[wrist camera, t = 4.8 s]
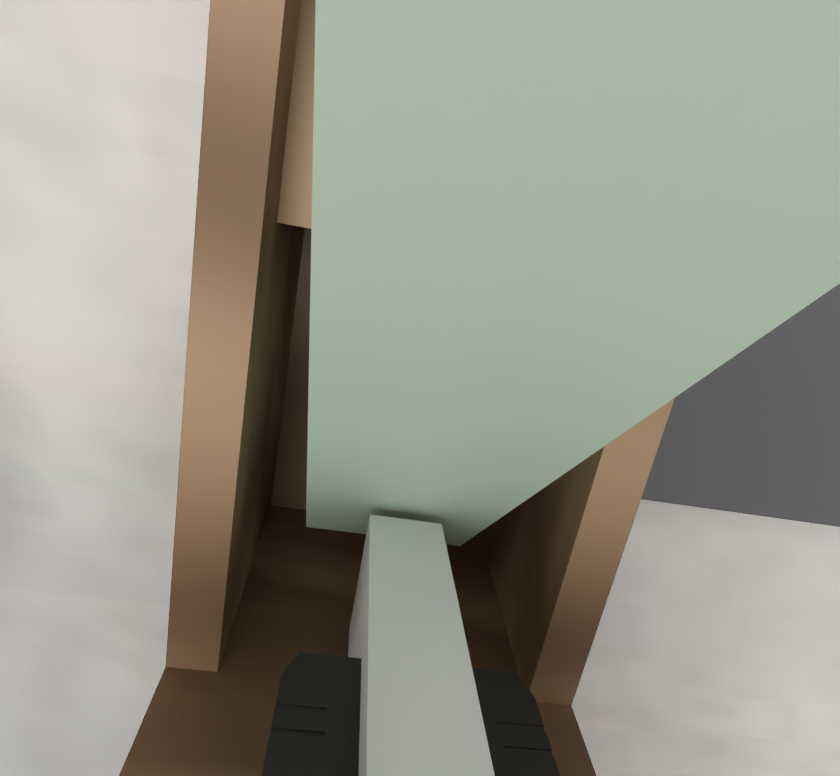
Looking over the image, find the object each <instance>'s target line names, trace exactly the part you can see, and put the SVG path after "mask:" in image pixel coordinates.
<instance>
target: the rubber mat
mask: <svg viewBox="0 0 840 776" xmlns="http://www.w3.org/2000/svg"><path fill="white" fill-rule="evenodd" d="M641 499H645V500H652V501H659V502H666V503H674V504H681V505H688V506H695V507H702V508H710V509H717V510H724V511H731V512H738V513H746V514H753V515H760V516H767V517H774V518H781V519H789V520H796V521H803V522H810V523H817V524H825V525H832V526H839V527H840V284H838V285H837V286H835V287H834V288H832V289H831V290H830V291H828V292H827V293H825V294H824V295H822V296H821V297H819V298H818V299H817V300H815V301H814V302H812V303H811V304H809V305H808V306H806V307H805V308H804V309H802V310H801V311H799V312H798V313H796V314H795V315H793V316H792V317H790V318H789V319H788V320H786V321H785V322H783V323H782V324H780V325H779V326H777V327H776V328H775V329H773V330H772V331H770V332H769V333H767V334H766V335H764V336H763V337H762V338H760V339H759V340H757V341H756V342H754V343H753V344H751V345H750V346H749V347H747V348H746V349H744V350H743V351H741V352H740V353H738V354H737V355H736V356H734V357H733V358H731V359H730V360H728V361H727V362H725V363H724V364H723V365H721V366H720V367H718V368H717V369H715V370H714V371H712V372H711V373H710V374H708V375H707V376H705V377H704V378H702V379H701V380H699V381H698V382H696V383H695V384H694V385H692V386H691V387H689V388H688V389H686V390H685V391H683V392H682V393H681V394H679V395H678V396H676V397H675V399H674V402H673V405H672V408H671V411H670V414H669V417H668V420H667V423H666V426H665V429H664V432H663V435H662V438H661V441H660V444H659V447H658V450H657V453H656V456H655V458H654V461H653V464H652V467H651V470H650V473H649V476H648V479H647V482H646V485H645V488H644V491H643V494H642V497H641Z"/></svg>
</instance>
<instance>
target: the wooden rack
mask: <svg viewBox="0 0 840 776" xmlns="http://www.w3.org/2000/svg"><path fill="white" fill-rule="evenodd" d="M315 9H316V0H210V14H209V29H208V44H207V59H206V74H205V89H204V103H203V118H202V133H201V148H200V163H199V178H198V193H197V208H196V223H195V238H194V253H193V268H192V282H191V297H190V312H189V327H188V342H187V357H186V372H185V387H184V402H183V417H182V432H181V447H180V461H179V476H178V491H177V506H176V521H175V536H174V551H173V566H172V581H171V596H170V611H169V626H168V640H167V655H166V668H165V670H164V672H163V675H162V677H161V679H160V682H159V684H158V686H157V689H156V691H155V693H154V696H153V698H152V700H151V703H150V705H149V707H148V710H147V712H146V714H145V717H144V719H143V721H142V724H141V726H140V728H139V731H138V733H137V735H136V738H135V740H134V742H133V745H132V747H131V749H130V752H129V754H128V756H127V759H126V761H125V763H124V766H123V768H122V770H121V773H120V775H119V776H262V772H263V766H264V761H265V756H266V751H267V746H268V741H269V736H270V731H271V726H272V720H273V715H274V710H275V705H276V700H277V695H278V690H279V685H280V679H281V674H282V673H283V672H284V671H285V669H286V668H287V667H288V666H289V664H290V663H291V662H292V661H293V659H294V658H295V657H296V656H297V654H298V653H299V652H305V653H314V654H324V655H333V656H343V657H348V647H349V630H350V622H351V616H352V611H353V605H354V600H355V594H356V589H357V583H358V577H359V572H360V566H361V561H362V555H363V550H364V544H365V539H366V534H359V533H351V532H343V531H336V530H328V529H320V528H312V527H306V494H307V440H308V386H309V332H310V279H311V225H312V171H313V117H314V63H315ZM674 399H675V398H673V399H672V400H670V401H669V402H668V403H666V404H665V405H663V406H662V407H660V408H659V409H657V410H656V411H655V412H653V413H652V414H650V415H649V416H647V417H646V418H644V419H643V420H642V421H640V422H639V423H637V424H636V425H634V426H633V427H631V428H630V429H629V430H627V431H626V432H624V433H623V434H621V435H620V436H618V437H617V438H616V439H614V440H613V441H611V442H610V443H608V444H607V445H605V446H604V447H602V448H601V449H600V450H598V451H597V452H595V453H594V454H592V455H591V456H589V457H588V458H587V459H585V460H584V461H582V462H581V463H579V464H578V465H576V466H575V467H574V468H572V469H571V470H569V471H568V472H566V473H565V474H563V475H562V476H561V477H559V478H558V479H556V480H555V481H553V482H552V483H550V484H549V485H548V486H546V487H545V488H543V489H542V490H540V491H539V492H537V493H536V494H535V495H533V496H532V497H530V498H529V499H527V500H526V501H524V502H523V503H522V504H520V505H519V506H517V507H516V508H514V509H513V510H511V511H510V512H508V513H507V514H506V515H504V516H503V517H501V518H500V519H498V520H497V521H495V522H494V523H493V524H491V525H490V526H488V527H487V528H485V529H484V530H482V531H481V532H480V533H478V534H477V535H475V536H474V537H472V538H471V539H469V540H468V541H467V542H465V543H464V544H462V545H461V546H455V545H447V544H446V546H447V551H448V556H449V561H450V565H451V570H452V575H453V580H454V584H455V589H456V594H457V599H458V603H459V608H460V613H461V618H462V622H463V627H464V632H465V637H466V641H467V646H468V651H469V656H470V660H471V665H472V668H480V669H489V670H499V671H508V672H515V673H516V674H517V675H518V677H519V678H520V679H521V680H522V682H523V683H524V684H525V685H526V687H527V688H528V689H529V690H530V692H531V693H532V694H533V696H534V697H535V699H536V702H537V705H538V708H539V711H540V714H541V718H542V721H543V724H544V731H546V733H547V736H548V739H549V742H550V745H551V748H552V756H554V758H555V761H556V764H557V767H558V770H559V773H560V776H596V774H595V771H594V768H593V765H592V763H591V760H590V757H589V754H588V752H587V749H586V746H585V743H584V740H583V738H582V735H581V732H580V729H579V726H578V724H577V721H576V718H575V715H574V712H573V710H572V707H571V705H572V702H573V699H574V696H575V693H576V690H577V687H578V684H579V681H580V678H581V675H582V672H583V669H584V666H585V663H586V660H587V657H588V654H589V651H590V648H591V645H592V642H593V639H594V636H595V633H596V630H597V627H598V625H599V622H600V619H601V616H602V613H603V610H604V607H605V604H606V601H607V598H608V595H609V592H610V589H611V586H612V583H613V580H614V577H615V574H616V571H617V568H618V565H619V562H620V559H621V556H622V553H623V550H624V547H625V544H626V541H627V539H628V536H629V533H630V530H631V527H632V524H633V521H634V518H635V515H636V512H637V509H638V506H639V503H640V500H641V497H642V494H643V491H644V488H645V485H646V482H647V479H648V476H649V473H650V470H651V467H652V464H653V461H654V458H655V456H656V453H657V450H658V447H659V444H660V441H661V438H662V435H663V432H664V429H665V426H666V423H667V420H668V417H669V414H670V411H671V408H672V405H673V402H674Z"/></svg>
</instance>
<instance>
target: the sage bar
mask: <svg viewBox="0 0 840 776" xmlns="http://www.w3.org/2000/svg"><path fill="white" fill-rule="evenodd" d="M838 284H840V0H316V9H315V63H314V117H313V171H312V225H311V279H310V332H309V386H308V440H307V494H306V527H312V528H320V529H328V530H336V531H343V532H351V533H359V534H366V533H367V528H368V522H369V517H370V514H371V515H378V516H386V517H393V518H401V519H409V520H416V521H424V522H431V523H439V524H442V527H443V532H444V537H445V542H446V544H447V545H455V546H461V545H462V544H464V543H465V542H467V541H468V540H469V539H471V538H472V537H474V536H475V535H477V534H478V533H480V532H481V531H482V530H484V529H485V528H487V527H488V526H490V525H491V524H493V523H494V522H495V521H497V520H498V519H500V518H501V517H503V516H504V515H506V514H507V513H508V512H510V511H511V510H513V509H514V508H516V507H517V506H519V505H520V504H522V503H523V502H524V501H526V500H527V499H529V498H530V497H532V496H533V495H535V494H536V493H537V492H539V491H540V490H542V489H543V488H545V487H546V486H548V485H549V484H550V483H552V482H553V481H555V480H556V479H558V478H559V477H561V476H562V475H563V474H565V473H566V472H568V471H569V470H571V469H572V468H574V467H575V466H576V465H578V464H579V463H581V462H582V461H584V460H585V459H587V458H588V457H589V456H591V455H592V454H594V453H595V452H597V451H598V450H600V449H601V448H602V447H604V446H605V445H607V444H608V443H610V442H611V441H613V440H614V439H616V438H617V437H618V436H620V435H621V434H623V433H624V432H626V431H627V430H629V429H630V428H631V427H633V426H634V425H636V424H637V423H639V422H640V421H642V420H643V419H644V418H646V417H647V416H649V415H650V414H652V413H653V412H655V411H656V410H657V409H659V408H660V407H662V406H663V405H665V404H666V403H668V402H669V401H670V400H672V399H673V398H675V397H676V396H678V395H679V394H681V393H682V392H683V391H685V390H686V389H688V388H689V387H691V386H692V385H694V384H695V383H696V382H698V381H699V380H701V379H702V378H704V377H705V376H707V375H708V374H710V373H711V372H712V371H714V370H715V369H717V368H718V367H720V366H721V365H723V364H724V363H725V362H727V361H728V360H730V359H731V358H733V357H734V356H736V355H737V354H738V353H740V352H741V351H743V350H744V349H746V348H747V347H749V346H750V345H751V344H753V343H754V342H756V341H757V340H759V339H760V338H762V337H763V336H764V335H766V334H767V333H769V332H770V331H772V330H773V329H775V328H776V327H777V326H779V325H780V324H782V323H783V322H785V321H786V320H788V319H789V318H790V317H792V316H793V315H795V314H796V313H798V312H799V311H801V310H802V309H804V308H805V307H806V306H808V305H809V304H811V303H812V302H814V301H815V300H817V299H818V298H819V297H821V296H822V295H824V294H825V293H827V292H828V291H830V290H831V289H832V288H834V287H835V286H837V285H838Z"/></svg>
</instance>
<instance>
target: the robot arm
mask: <svg viewBox="0 0 840 776" xmlns="http://www.w3.org/2000/svg"><path fill="white" fill-rule="evenodd" d="M262 776H560V773H559V770H558V767H557V764H556V761H555V758H554V756H552V748H551V745H550V742H549V739H548V736H547V733H546V731H544V724H543V721H542V718H541V714H540V711H539V708H538V705H537V702H536V699H535V697H534V696H533V694H532V693H531V692H530V690H529V689H528V688H527V687H526V685H525V684H524V683H523V682H522V680H521V679H520V678H519V677H518V675H517V674H516V673H515V672H508V671H499V670H489V669H480V668H472V665H471V660H470V656H469V651H468V646H467V641H466V637H465V632H464V627H463V622H462V618H461V613H460V608H459V603H458V599H457V594H456V589H455V584H454V580H453V575H452V570H451V565H450V561H449V556H448V551H447V546H446V542H445V537H444V532H443V527H442V524H439V523H431V522H424V521H416V520H409V519H401V518H393V517H386V516H378V515H371V514H370V517H369V522H368V528H367V533H366V539H365V544H364V550H363V555H362V561H361V566H360V572H359V577H358V583H357V589H356V594H355V600H354V605H353V611H352V616H351V622H350V630H349V647H348V657H343V656H333V655H324V654H314V653H305V652H299V653H298V654H297V656H296V657H295V658H294V659H293V661H292V662H291V663H290V664H289V666H288V667H287V668H286V669H285V671H284V672H283V673H282V674H281V679H280V685H279V690H278V695H277V700H276V705H275V710H274V715H273V720H272V726H271V731H270V736H269V741H268V746H267V751H266V756H265V761H264V766H263V772H262Z"/></svg>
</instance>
